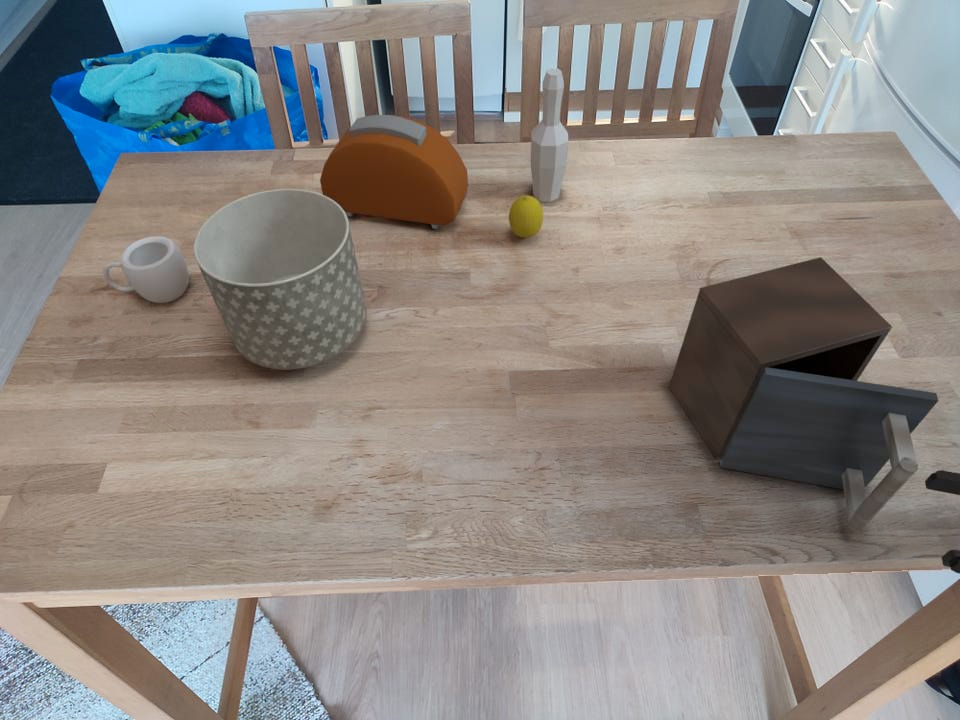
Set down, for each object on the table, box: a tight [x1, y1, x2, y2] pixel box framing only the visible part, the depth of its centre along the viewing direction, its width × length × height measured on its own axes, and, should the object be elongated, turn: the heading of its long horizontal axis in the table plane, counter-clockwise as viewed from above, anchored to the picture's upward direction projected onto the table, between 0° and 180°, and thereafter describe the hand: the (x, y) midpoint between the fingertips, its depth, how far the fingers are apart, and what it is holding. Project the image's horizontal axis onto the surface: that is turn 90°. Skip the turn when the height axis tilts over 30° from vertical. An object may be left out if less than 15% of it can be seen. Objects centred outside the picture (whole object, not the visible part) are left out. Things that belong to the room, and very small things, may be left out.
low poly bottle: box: [530, 67, 569, 203], centre depth 108 cm, size 6×6×22 cm
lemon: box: [508, 194, 544, 239], centre depth 106 cm, size 6×6×8 cm
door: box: [719, 367, 939, 531], centre depth 69 cm, size 8×16×18 cm, turn 77°
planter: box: [193, 188, 368, 371], centre depth 89 cm, size 19×19×18 cm
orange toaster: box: [319, 114, 469, 230], centre depth 108 cm, size 23×9×17 cm, turn 76°
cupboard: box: [668, 257, 893, 460], centre depth 79 cm, size 12×16×18 cm
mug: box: [102, 235, 190, 304], centre depth 99 cm, size 12×8×8 cm
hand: (937, 517), depth 65 cm, fingers open, 8 cm apart
